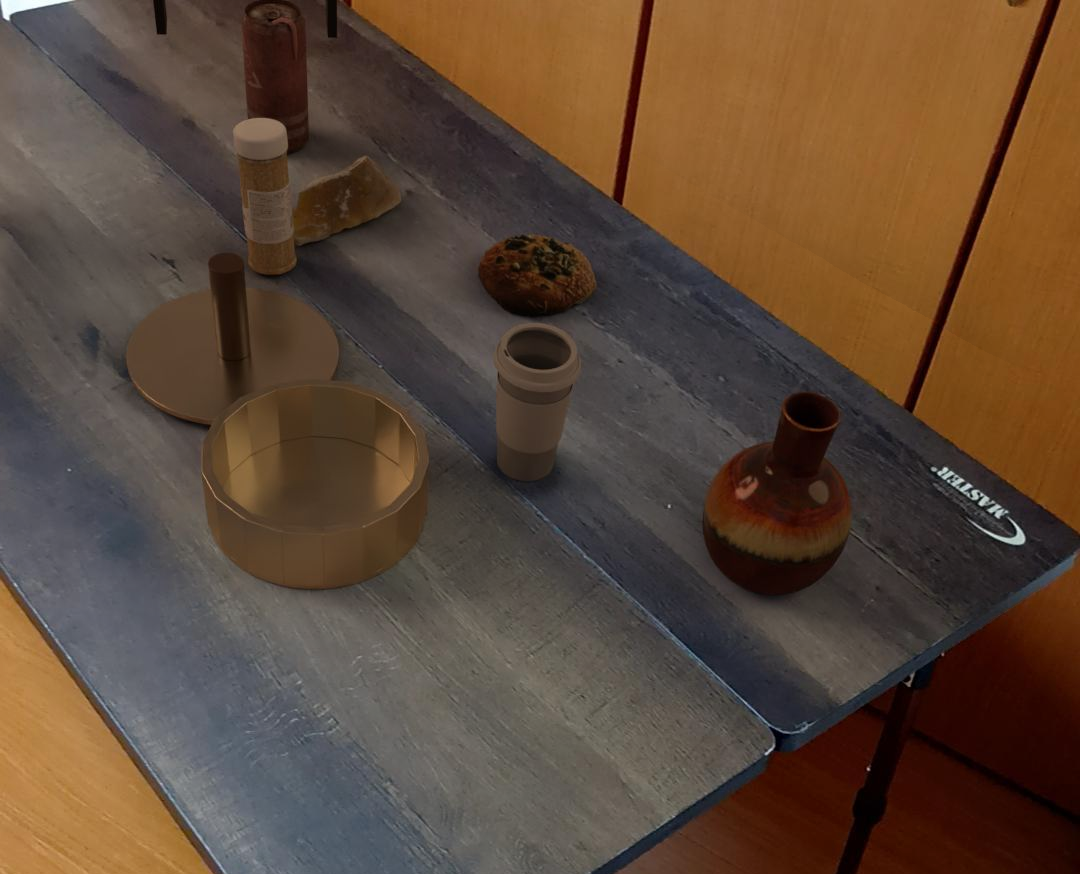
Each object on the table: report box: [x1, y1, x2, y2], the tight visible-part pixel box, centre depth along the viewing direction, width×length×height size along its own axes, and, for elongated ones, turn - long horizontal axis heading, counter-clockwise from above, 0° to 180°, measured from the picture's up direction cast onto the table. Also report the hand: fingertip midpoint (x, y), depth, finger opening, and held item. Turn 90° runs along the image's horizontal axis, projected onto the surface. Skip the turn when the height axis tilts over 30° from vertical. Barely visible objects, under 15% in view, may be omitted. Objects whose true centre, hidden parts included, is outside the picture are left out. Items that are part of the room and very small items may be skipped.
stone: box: [292, 155, 402, 247], centre depth 127 cm, size 7×6×15 cm
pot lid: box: [125, 252, 340, 426], centre depth 109 cm, size 18×18×10 cm
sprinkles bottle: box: [232, 118, 298, 276], centre depth 118 cm, size 5×5×14 cm
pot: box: [200, 379, 430, 590], centre depth 100 cm, size 17×17×6 cm
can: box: [240, 0, 310, 155], centre depth 132 cm, size 6×6×14 cm
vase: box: [702, 391, 853, 596], centre depth 98 cm, size 11×11×15 cm
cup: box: [492, 322, 582, 482], centre depth 104 cm, size 7×7×12 cm
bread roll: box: [477, 233, 597, 316], centre depth 124 cm, size 11×11×5 cm
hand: (247, 28), depth 108 cm, fingers open, 13 cm apart
